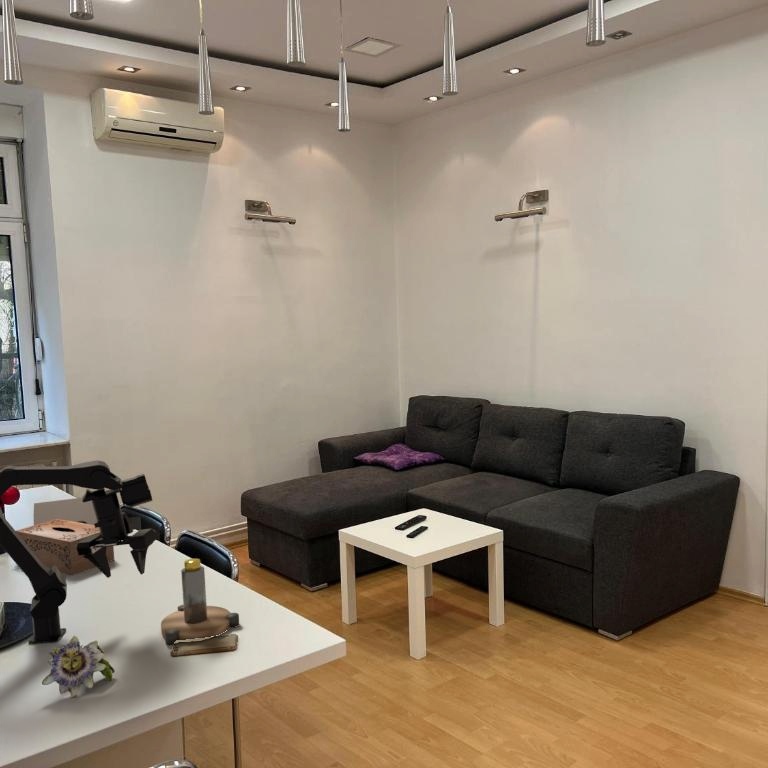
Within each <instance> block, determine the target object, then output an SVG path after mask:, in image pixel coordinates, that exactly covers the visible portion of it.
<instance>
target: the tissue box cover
mask: <svg viewBox="0 0 768 768" xmlns="http://www.w3.org/2000/svg"><path fill="white" fill-rule="evenodd" d="M15 531H16V532H17V533H18V534H19V536H20V537H21V538H22V539H23V540H24V542H25V543H26V544H27V545H28V546H29V548H30V549H31V550H32V551H33V552H34V554H35V555H36V556H37V557H38V558H39V560H40V561H41V562H42V563H43V564H44V565H45V566H47V567H49V568H52V567H53V566H54V565H56V566H57V567H58V569H59V571H60V573H62V574H66V573H67V574H66V575H70V574H71V575H72V576H75V575H78V574H80V572H81V573H83V572H86V571H89V570H92V569H94V568H97V567H96V566H95V565H94V564H93V563H92V562H91V561H89V560H88V559H87V558H84V557H83V556H84V555H78V553H77V549H76V547H77V544H78V543H79V542H80V541H82V540H83V539H85V538H86V537H88V536H91V535H100V534H101V533H100V529H99V527H96V528H95V525H90V524H85V523H79V522H73V521H68V520H62V519H54V520H51V521H47V522H44V523H40V524H37V525H34V524H33V525H30V526H27V527H24V528H20V529H17V530H15ZM114 547H115V546H108V547H107V550H106V556H107V560H108V561H110V560H113V559H114V560H115V548H114ZM114 560H113V561H114ZM110 562H111V561H110ZM93 567H94V568H93ZM88 569H89V570H88ZM85 570H86V571H85ZM77 573H78V574H77ZM74 574H75V575H74Z"/></svg>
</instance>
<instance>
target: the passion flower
mask: <svg viewBox="0 0 768 768" xmlns="http://www.w3.org/2000/svg"><path fill="white" fill-rule="evenodd" d="M80 643H81V642H80V639H79V638H78V636H76V635H73V636H72V637H71V639H70V641H69V643H67V644H66V645H63V648H61V647H55V648H54V649H53V652H52V651H51V650H49V651H48V654H49V655H51V657H52V658H51V659H49V660H48V661H47V664H48V665H50V666H52V667H51V669H50V670H49V671H50V672H49V674H48V675H46V677H45V678H43V680H42V681H41V685H44V686H46V685H50V684H53V683H57V684H58V685H59V686H58V690H59V694H60V695H62V694H63V695H64V694H65V693H67V692H69V694H70V696H71V698H75V697H77V695H78V694H79V691H80V686H82V685H83V686H85V688H87V689H92V688H93V687H94V684H95V683H94V682H95V681H94V673H96V672H100V673H101V674H102V675H103V677H104V678H105V680H107V681H108V682H112V680H113V674H115V668H114V667H113V666H112V665H111V664H110V662H109V661H108V660H106V659H105V658H104V657H105V651H104V649H103V648H101V646H100V644H99V642H98V640H94V641H91V642H89V643H88V644H86V645H84V644H80ZM83 645H84V646H83ZM96 649H97V650H98V651H99V652H96V651H95V650H96Z"/></svg>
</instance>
